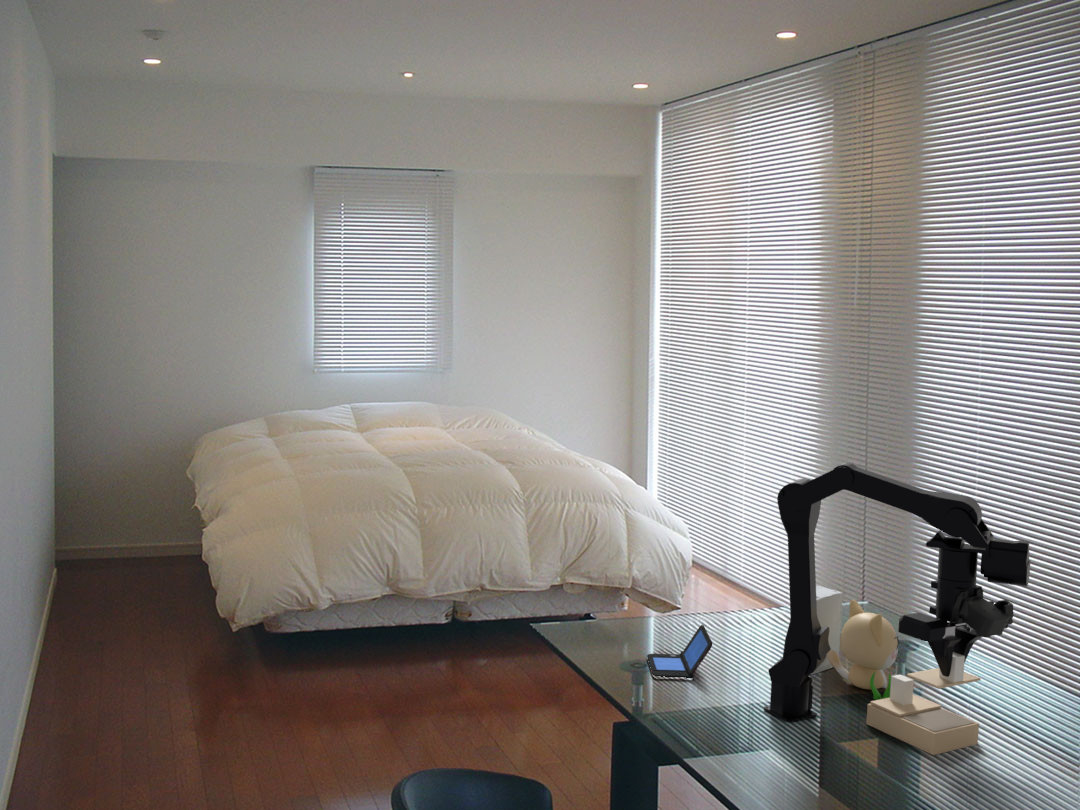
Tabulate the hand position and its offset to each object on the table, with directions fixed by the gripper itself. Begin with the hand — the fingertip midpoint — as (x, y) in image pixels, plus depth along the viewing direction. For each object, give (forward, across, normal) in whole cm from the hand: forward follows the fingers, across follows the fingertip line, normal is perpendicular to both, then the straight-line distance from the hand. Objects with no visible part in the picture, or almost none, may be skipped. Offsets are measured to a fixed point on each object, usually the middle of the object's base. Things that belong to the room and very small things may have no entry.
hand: (950, 674), depth 176 cm
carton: (+11, 0, +5) cm, 12 cm away
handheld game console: (+12, -17, +48) cm, 52 cm away
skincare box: (+12, +7, +38) cm, 40 cm away
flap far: (+8, 0, +9) cm, 12 cm away
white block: (+1, 0, +1) cm, 2 cm away
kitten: (+12, +8, +25) cm, 29 cm away
